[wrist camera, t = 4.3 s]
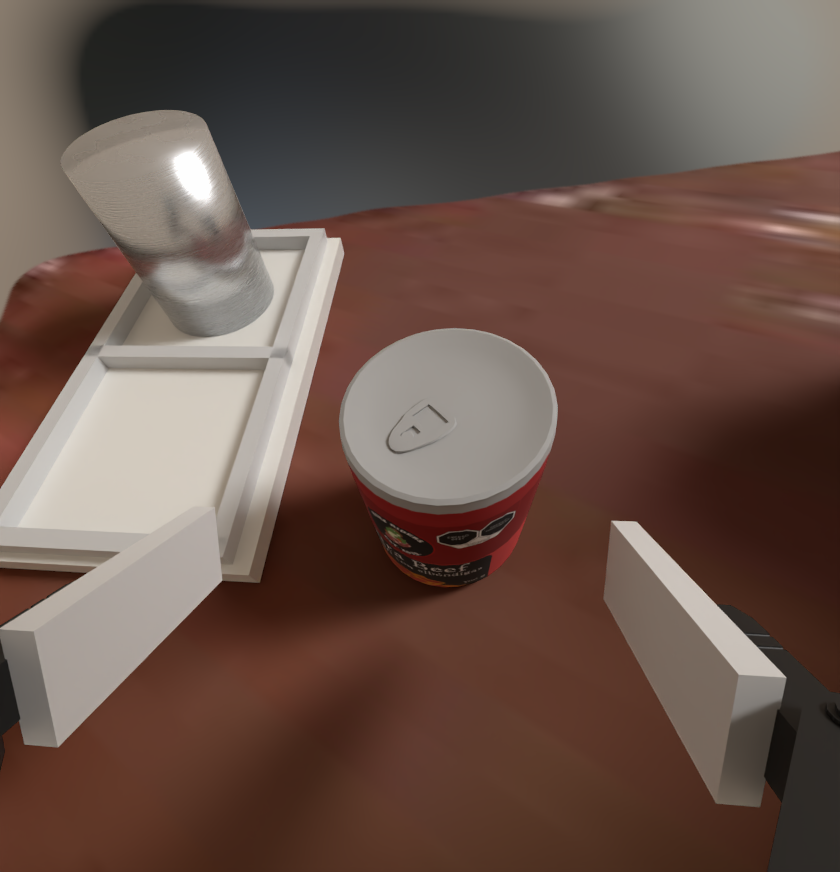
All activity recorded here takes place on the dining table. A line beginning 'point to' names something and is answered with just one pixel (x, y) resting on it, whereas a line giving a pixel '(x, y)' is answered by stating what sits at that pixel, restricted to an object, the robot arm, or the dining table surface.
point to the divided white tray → (175, 425)
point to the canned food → (449, 449)
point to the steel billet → (174, 218)
